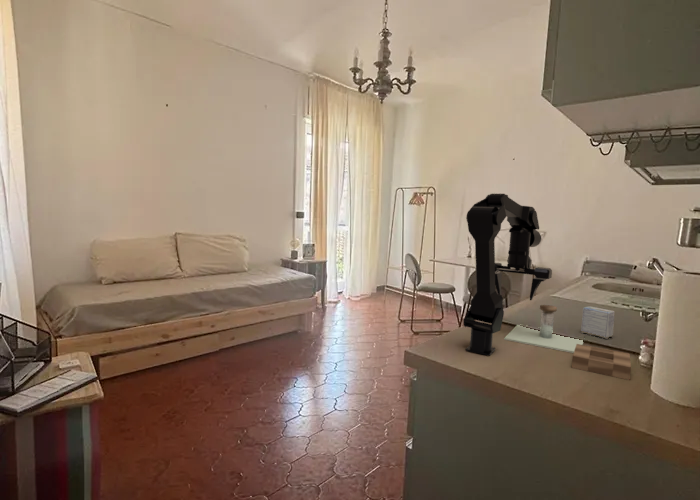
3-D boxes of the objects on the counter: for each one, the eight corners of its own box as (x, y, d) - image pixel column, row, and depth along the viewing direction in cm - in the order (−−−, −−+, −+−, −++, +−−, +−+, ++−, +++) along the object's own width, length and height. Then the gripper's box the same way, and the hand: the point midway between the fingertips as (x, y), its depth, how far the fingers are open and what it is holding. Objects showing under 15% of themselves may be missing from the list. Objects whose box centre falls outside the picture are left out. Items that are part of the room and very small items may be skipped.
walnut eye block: (629, 379, 95) (631, 367, 95) (571, 367, 102) (572, 356, 101) (628, 364, 105) (629, 353, 105) (575, 354, 112) (576, 343, 112)
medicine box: (612, 337, 129) (615, 311, 129) (606, 340, 127) (609, 312, 126) (586, 331, 136) (589, 305, 135) (580, 333, 133) (582, 307, 132)
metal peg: (554, 336, 126) (557, 306, 126) (553, 340, 123) (555, 309, 122) (538, 333, 129) (541, 304, 128) (536, 337, 125) (539, 306, 124)
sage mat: (580, 354, 112) (580, 352, 112) (504, 339, 123) (504, 338, 123) (584, 337, 129) (584, 335, 129) (517, 325, 140) (517, 324, 140)
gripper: (557, 249, 126) (552, 299, 128) (495, 244, 137) (491, 290, 138) (550, 250, 117) (546, 304, 118) (485, 245, 128) (481, 294, 129)
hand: (514, 297), depth 126 cm, fingers open, 9 cm apart
